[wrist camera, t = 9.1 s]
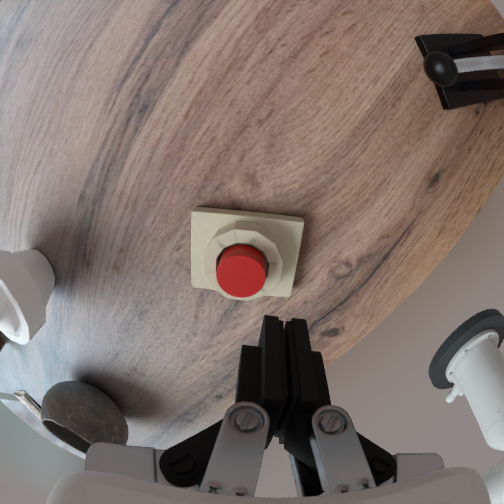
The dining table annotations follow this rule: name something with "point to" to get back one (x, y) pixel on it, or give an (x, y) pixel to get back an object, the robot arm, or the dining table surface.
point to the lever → (457, 66)
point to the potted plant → (24, 293)
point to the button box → (245, 233)
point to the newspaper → (28, 402)
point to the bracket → (468, 83)
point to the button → (241, 271)
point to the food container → (2, 342)
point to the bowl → (82, 416)
